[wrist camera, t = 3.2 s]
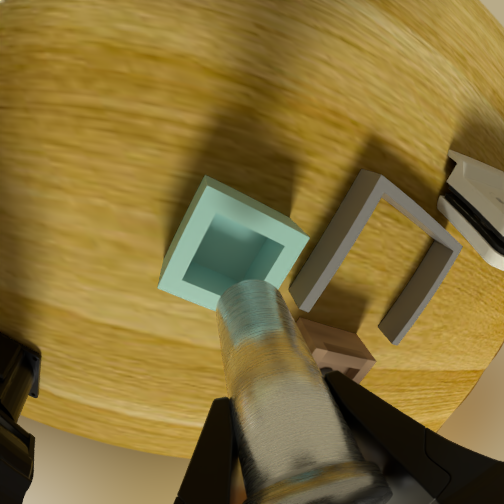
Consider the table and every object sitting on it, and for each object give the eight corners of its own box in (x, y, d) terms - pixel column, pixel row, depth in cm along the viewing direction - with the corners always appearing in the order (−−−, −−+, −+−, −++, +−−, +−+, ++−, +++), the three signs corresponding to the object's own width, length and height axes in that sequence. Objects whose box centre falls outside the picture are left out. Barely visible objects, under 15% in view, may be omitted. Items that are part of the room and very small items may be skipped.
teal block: (244, 292, 21) (254, 325, 18) (163, 258, 19) (157, 288, 16) (288, 217, 20) (310, 237, 16) (205, 174, 18) (207, 185, 14)
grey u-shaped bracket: (383, 329, 25) (397, 345, 23) (288, 289, 22) (299, 308, 19) (443, 236, 23) (462, 246, 20) (361, 168, 19) (381, 174, 17)
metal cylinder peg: (264, 348, 13) (329, 537, 5) (198, 326, 12) (220, 546, 4) (302, 291, 13) (419, 481, 4) (233, 262, 12) (307, 499, 3)
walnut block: (319, 381, 26) (334, 412, 23) (263, 370, 25) (273, 405, 21) (355, 332, 25) (376, 361, 21) (298, 315, 23) (316, 348, 19)
